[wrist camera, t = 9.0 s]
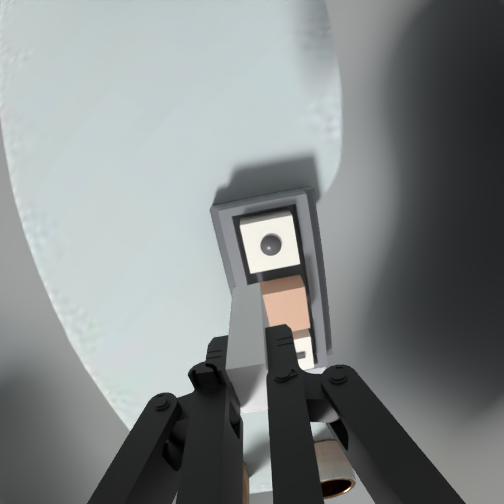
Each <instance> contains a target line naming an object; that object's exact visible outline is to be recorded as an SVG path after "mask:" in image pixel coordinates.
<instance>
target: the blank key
mask: <svg viewBox="0 0 504 504" xmlns="http://www.w3.org/2000/svg"><path fill="white" fill-rule="evenodd" d="M259 283H260V286H261V291H262V295H263V299H264V303H265V307H266V311H267V315H268V320H269V325H270V327H272V326H277V325H282V324H287V325H288V326H289V327H290V328H291V330H292V332H293V331H298V330H303V329H307V328H310V322H309V314H308V307H307V299H306V292H305V286H304V284H303V281H302V278H301V276H300V275H295V276H290V277H285V278H280V279H275V280H269V281H264V282H259ZM254 284H256V283H254Z"/></svg>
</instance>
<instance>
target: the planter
mask: <svg viewBox="0 0 504 504" xmlns="http://www.w3.org/2000/svg"><path fill="white" fill-rule="evenodd" d="M314 447H315V453H316V458H317V464H318V470H319V476H320V481H321V487H322V493H323V499H328V498H333V497H336V496H339V495H342V494H344V493H346V492H348V491H349V490H351V489H352V488H354V486H355V485H356V478H355V474H354V470H353V467H352V465H351V464H350V462H349V461H348V459H347V457H346V456H345V454H344V452H343V451H342V449H341V447H340V446H339V444H338V443H337V441H335V440H326V441H320V442H316V443H314Z"/></svg>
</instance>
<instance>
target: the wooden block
mask: <svg viewBox="0 0 504 504" xmlns="http://www.w3.org/2000/svg"><path fill="white" fill-rule="evenodd" d="M243 504H249V477H248V473H247V469H246V465H245V463H244V462H243Z"/></svg>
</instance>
